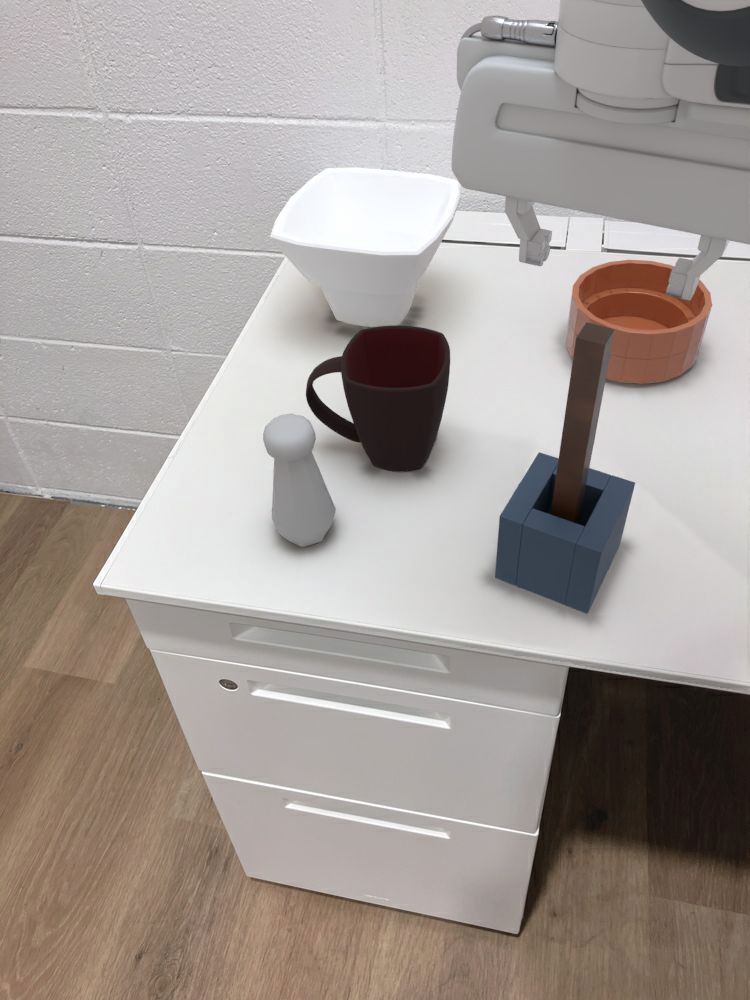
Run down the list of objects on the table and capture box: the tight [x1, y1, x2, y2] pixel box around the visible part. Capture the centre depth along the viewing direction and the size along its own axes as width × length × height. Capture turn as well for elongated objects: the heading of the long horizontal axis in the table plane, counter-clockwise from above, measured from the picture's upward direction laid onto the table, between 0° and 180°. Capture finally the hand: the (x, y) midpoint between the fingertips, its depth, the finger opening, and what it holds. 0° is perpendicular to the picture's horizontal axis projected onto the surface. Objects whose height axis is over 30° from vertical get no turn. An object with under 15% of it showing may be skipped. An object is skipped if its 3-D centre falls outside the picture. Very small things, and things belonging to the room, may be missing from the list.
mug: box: [305, 324, 451, 473], centre depth 77 cm, size 10×14×12 cm
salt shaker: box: [262, 413, 336, 548], centre depth 70 cm, size 6×6×13 cm
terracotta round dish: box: [565, 259, 713, 385], centre depth 89 cm, size 14×14×7 cm
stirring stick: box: [550, 322, 615, 524], centre depth 62 cm, size 2×2×24 cm
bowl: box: [269, 166, 461, 328], centre depth 94 cm, size 19×19×14 cm
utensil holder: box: [494, 451, 636, 614], centre depth 68 cm, size 8×8×8 cm
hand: (604, 276), depth 50 cm, fingers open, 8 cm apart
